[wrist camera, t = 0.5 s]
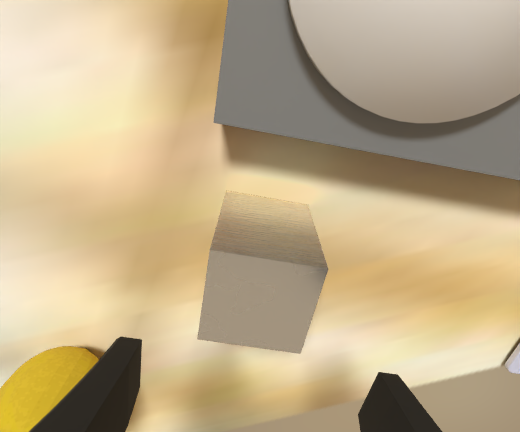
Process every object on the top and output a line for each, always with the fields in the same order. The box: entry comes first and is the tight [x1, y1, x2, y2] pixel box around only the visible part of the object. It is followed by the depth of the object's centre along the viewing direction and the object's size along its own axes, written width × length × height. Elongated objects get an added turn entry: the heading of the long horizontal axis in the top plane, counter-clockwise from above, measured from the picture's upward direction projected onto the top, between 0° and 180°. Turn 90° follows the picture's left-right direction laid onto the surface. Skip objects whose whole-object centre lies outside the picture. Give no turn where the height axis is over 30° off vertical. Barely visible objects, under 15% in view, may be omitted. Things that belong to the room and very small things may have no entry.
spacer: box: [198, 191, 328, 353], centre depth 16 cm, size 4×4×6 cm
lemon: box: [0, 346, 99, 432], centre depth 19 cm, size 6×6×8 cm
